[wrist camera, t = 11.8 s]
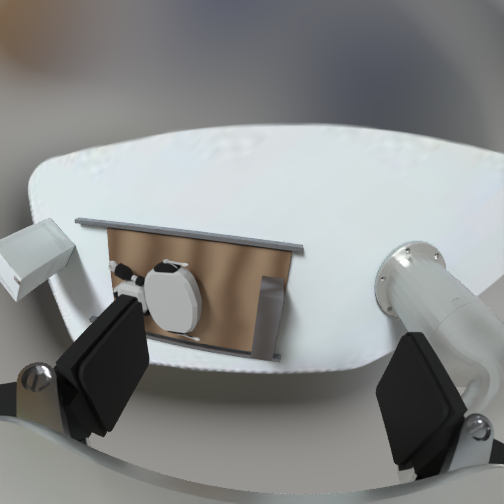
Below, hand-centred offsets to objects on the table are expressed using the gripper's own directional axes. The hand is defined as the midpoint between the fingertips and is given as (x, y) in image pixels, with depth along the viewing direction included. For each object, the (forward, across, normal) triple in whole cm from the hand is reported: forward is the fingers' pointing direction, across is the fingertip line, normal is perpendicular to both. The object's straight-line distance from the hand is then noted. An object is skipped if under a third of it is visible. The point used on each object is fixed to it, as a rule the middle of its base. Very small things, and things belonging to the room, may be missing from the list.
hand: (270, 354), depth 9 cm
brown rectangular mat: (+28, +11, +15) cm, 34 cm away
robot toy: (+28, +16, +15) cm, 36 cm away
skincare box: (+28, +38, +10) cm, 49 cm away
